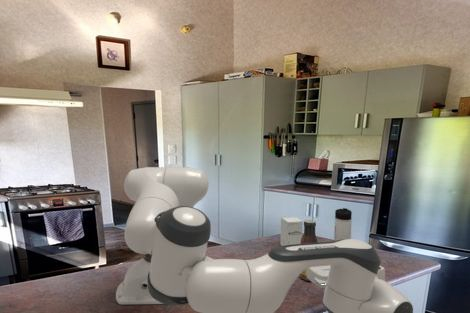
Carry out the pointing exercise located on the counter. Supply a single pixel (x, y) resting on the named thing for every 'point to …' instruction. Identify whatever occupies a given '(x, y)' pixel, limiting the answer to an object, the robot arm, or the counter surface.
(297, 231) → the supplement box
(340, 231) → the travel mug
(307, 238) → the sauce bottle
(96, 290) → the counter surface
